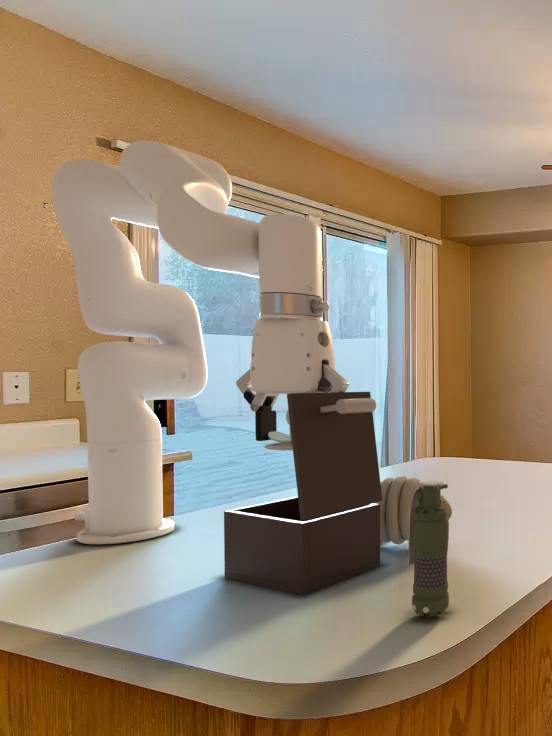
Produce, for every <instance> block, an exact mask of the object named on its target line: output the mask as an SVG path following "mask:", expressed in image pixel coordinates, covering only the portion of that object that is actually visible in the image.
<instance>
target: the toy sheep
mask: <svg viewBox="0 0 552 736" xmlns="http://www.w3.org/2000/svg"><path fill="white" fill-rule="evenodd" d="M424 481H425V480H420V479H419V478H418V477H415V476H413V477H410V478H408V477H407V476H405V475H398V476H396V477H395V478H394V477H390V476H389V477H385V478H384V479H383V480H382V481H380V483H381V492H382V501H379V502H375V503H376V504H380V544H382V543H390V542H392V543H393V544H395V545H402V544H404V543H405V542H406V541H407V542H409V513H410V505H411V500H412V496H413V493H414V489H415V486H416V484H417V483H419V482H424ZM440 499H441V506H445V507H441V508H446V509H447V510H448V512H447V518H448V521H449V520H450V519H451V518H452V515H453V509H452V507H451V504H450V502H449V501H448V500H447V499H446V497H444V496H443V495H442V494H441V497H440Z"/></svg>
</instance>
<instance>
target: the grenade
mask: <svg viewBox="0 0 552 736" xmlns="http://www.w3.org/2000/svg"><path fill="white" fill-rule="evenodd" d="M423 481H424V482H421V481H420V482H419V483H417V484H416V486H415V489H414V493H413V496H412V500H411V505H410V513H409V541H408V566H411V565H413V585H412V593H413V594H412V596H411V609H412V610H413V612H415V614H416V615H419V616H421V617H425V618H434V617H436V616H438V615H442V614H443V613H444V612H445V611H446V610H447V609H448V608H449V605H450V594H449V592H448V590H449V581H448V550H449V539H450V522H449V520H448V518H447V512H448V510H447V509H446V508H441V507H445V506H441V499H440V497H441V495H442V492H441V491H442V490H445V489H448V488H449V484H448V483H444V482H443V481H441V480H423Z"/></svg>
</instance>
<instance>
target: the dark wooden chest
mask: <svg viewBox="0 0 552 736" xmlns="http://www.w3.org/2000/svg"><path fill="white" fill-rule="evenodd" d="M223 540H224V541H223V546H224V547H223V548H224V549H223V550H224V552H223V553H224V557H223V558H224V560H223V561H224V578H226V579H230V580H235V581H239V582H244V583H247V584H251V585H256V586H259V587H265V588H270V589H273V590H278V591H283V592H287V593H291V594H296V595H300V596H305V595H308V594H311V593H313V592H316V591H319V590H321V589H324V588H326V587H329V586H332V585H334V584H336V583H338V582H339V583H340V582H342V581H345V580H347V579H349V578H352V577H355V576H357V575H361V574H362V573H367V572H368V571H371V570H373V569H376V568H378V567H381V543H380V504H376V503H371V504H367V505H363V506H359V507H355V508H351V509H347V510H343V511H339V512H335V513H331V514H327V515H323V516H319V517H315V518H311V519H307V520H300V510H299V501H298V495H297V496H292V497H288V498H282V499H277V500H273V501H268V502H263V503H258V504H253V505H248V506H244V507H243V506H242V507H238V508H233V509H227V510H223Z"/></svg>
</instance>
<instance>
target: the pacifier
mask: <svg viewBox="0 0 552 736" xmlns="http://www.w3.org/2000/svg"><path fill="white" fill-rule="evenodd" d="M285 421H286V423H287V424H288V425H289V434H288V433H285V432H281V431H274V432H269V434H268V436H269V438H270V439H271V440H270V441H273V442H275V443H267V444H265V445H264V449H266V450H272V451H293V446H292V437H291V428H290V419H289V410H288V409H287V411H286V413H285Z"/></svg>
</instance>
